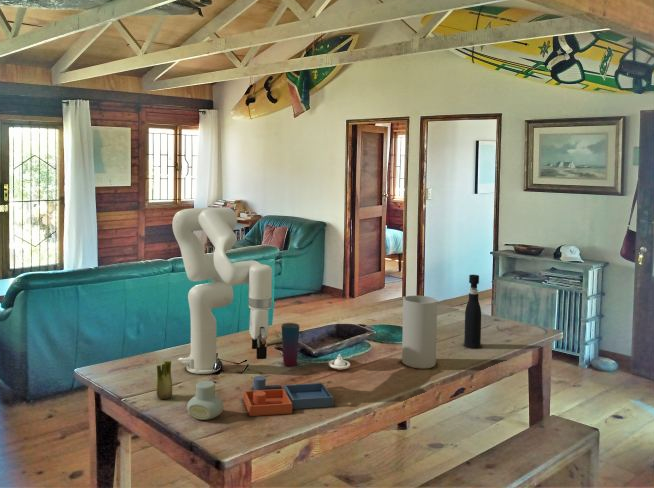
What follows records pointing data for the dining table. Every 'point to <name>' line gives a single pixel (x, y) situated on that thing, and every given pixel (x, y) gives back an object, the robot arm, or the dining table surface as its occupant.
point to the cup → (290, 343)
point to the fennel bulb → (164, 380)
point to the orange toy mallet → (262, 399)
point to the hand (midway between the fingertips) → (259, 353)
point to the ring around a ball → (339, 363)
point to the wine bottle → (473, 316)
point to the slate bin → (309, 395)
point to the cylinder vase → (419, 331)
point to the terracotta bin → (272, 408)
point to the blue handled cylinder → (263, 384)
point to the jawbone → (277, 340)
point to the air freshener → (205, 402)
